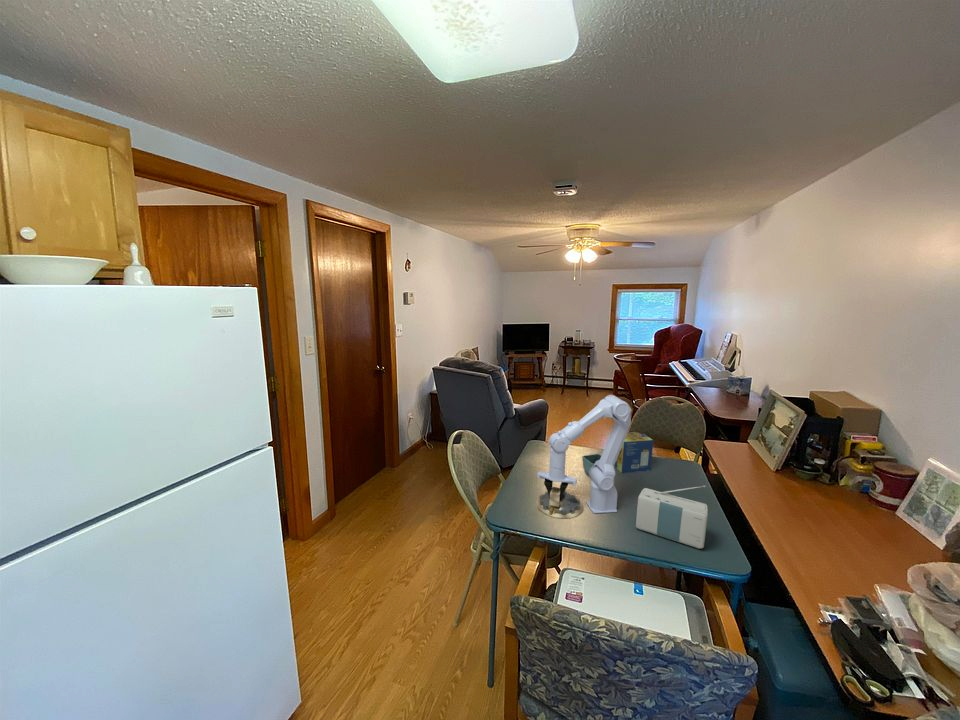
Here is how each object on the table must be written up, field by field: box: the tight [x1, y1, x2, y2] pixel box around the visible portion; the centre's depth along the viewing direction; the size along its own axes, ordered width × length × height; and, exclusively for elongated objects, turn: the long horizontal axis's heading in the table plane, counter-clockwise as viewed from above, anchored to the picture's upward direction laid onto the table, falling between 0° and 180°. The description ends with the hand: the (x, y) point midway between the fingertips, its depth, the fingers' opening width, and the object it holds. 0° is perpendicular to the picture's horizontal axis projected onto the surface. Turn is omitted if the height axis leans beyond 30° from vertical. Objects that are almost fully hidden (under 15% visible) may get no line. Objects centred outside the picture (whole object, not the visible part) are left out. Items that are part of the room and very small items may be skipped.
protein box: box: [614, 431, 654, 474], centre depth 184 cm, size 10×15×16 cm
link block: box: [549, 486, 561, 507], centre depth 148 cm, size 4×5×5 cm
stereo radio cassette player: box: [635, 485, 709, 549], centre depth 133 cm, size 21×8×20 cm, turn 56°
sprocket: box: [539, 489, 581, 515], centre depth 152 cm, size 15×15×6 cm
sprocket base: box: [535, 493, 584, 520], centre depth 152 cm, size 18×18×3 cm
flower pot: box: [581, 453, 602, 479], centre depth 175 cm, size 9×9×9 cm
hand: (555, 498), depth 148 cm, fingers closed on link block, 3 cm apart
